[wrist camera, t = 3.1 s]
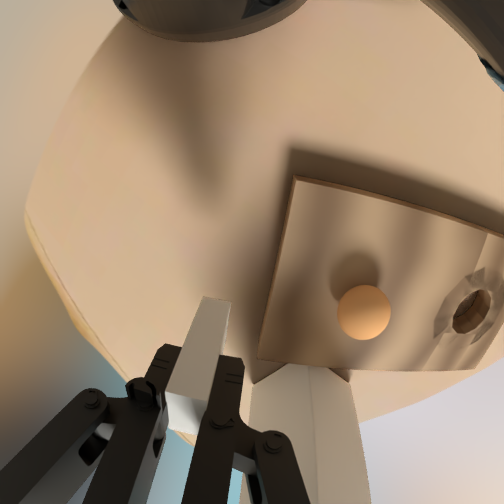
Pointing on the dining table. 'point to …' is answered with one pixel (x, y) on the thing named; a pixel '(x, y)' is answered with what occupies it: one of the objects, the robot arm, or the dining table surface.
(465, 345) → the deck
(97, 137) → the dining table surface
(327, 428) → the milk carton
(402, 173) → the dining table surface
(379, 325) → the ball
